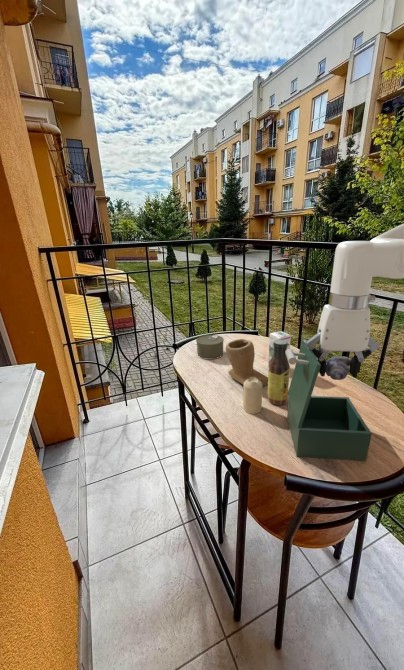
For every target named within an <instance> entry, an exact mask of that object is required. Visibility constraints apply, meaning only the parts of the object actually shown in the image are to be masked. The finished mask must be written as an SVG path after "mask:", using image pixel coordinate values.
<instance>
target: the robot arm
mask: <svg viewBox="0 0 404 670" xmlns="http://www.w3.org/2000/svg"><path fill="white" fill-rule="evenodd" d="M373 278H384V279H394V280H401V279H404V223H401V224H399V225H397V226H395V227H393V228H391V229H389V230H387V231H385V232H383V233H381V234H379V235H377V236H376V237H374V238H372V239H371V240H347V241H342V242H339V243H338V244H337V245H336V248H335V251H334V258H333V267H332V275H331V283H330V291H329V297H328V304H324V306H323V308H322V310H321V315H320V319H319V322H318V327H317V331H316V332H317V333H316V334H314V335H313V336H311V337H310V338H309V339H308V340H306V342H305V344H306V346H307V347H308V348H309V349H310V350H312V351H313V353H314V355H315V356H316V358H317V360H318V361H319V363H320V365H321V367H320V370H319V373H318V374H319V375H320V377H325V376H326V372H325V370H326V364H327V363H326V362H327V360H326V358H327V357H328V355H329V354H330V352H352V354H353V356H351V358H350V360H351V362H350V365H349V374H350V375H351V376H352V377H353V378H358V374H359V373H360V372H361V367H362V366H361V365H362V363H364V361H365V359H367V358H368V357H369V356H371V355H372V353H374V352H376V350H378V349H379V348H380V344H378V342H377V341H376V340H374V338H372V337H371V336H370V335H371V308H370V307H369V304H370V303H375V301H376V296H375V295H371V287H372V281H373ZM316 344H319V345H320V347H319V348H317V347H316V346H315V345H316Z"/></svg>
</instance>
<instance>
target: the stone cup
mask: <svg viewBox="0 0 404 670" xmlns="http://www.w3.org/2000/svg"><path fill="white" fill-rule="evenodd" d="M225 354H226V357H227V359H228V361H229V363H230V365H231V369H229V370H228V375H229V376H230V377H231V378H232V379H234V380H235V381H237V382H238V383H240V384H241V385H242V386H244V382H245V381H246V380H247V379H250V378H251V377H254V378H257V379H258V380H259V381H260V382H261V383H262V387H263V386H265V385H268V376H267V375H265V374H264V373H261V372H260V371H259V370H256V369H255V368H254V364H255V363H254V362H255V354H256V353H255V346H254V344H253V342H252V340H249V339H245V338H237V339H234V340H231V341H229V342H227V344H226V345H225Z"/></svg>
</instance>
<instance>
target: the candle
mask: <svg viewBox="0 0 404 670" xmlns="http://www.w3.org/2000/svg"><path fill="white" fill-rule="evenodd" d="M242 398H243V399H242V401H243V402H242V408H243V410H244V411H245V412H246V413H249V414H257V413H260V412H261V411H262V408H263V407H262V406H263V386H262V383H261V382H260V381H259V380H258V379H257V378H254V377H251V378H250V379H247V380H246V381H245V382H244V385H243V396H242Z"/></svg>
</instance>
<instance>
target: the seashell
mask: <svg viewBox="0 0 404 670" xmlns="http://www.w3.org/2000/svg"><path fill="white" fill-rule="evenodd" d="M350 362H351V358H349V357H347V356H344V355H343V356H337V355H336V356H332V357H330V358H328V359H327V360H326V370H325V375H326V377H329V378H330V379H332V380H334V381H342V380H344V379H346V377H347V376H348V375H349V374H350V372H349V368H350Z"/></svg>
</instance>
